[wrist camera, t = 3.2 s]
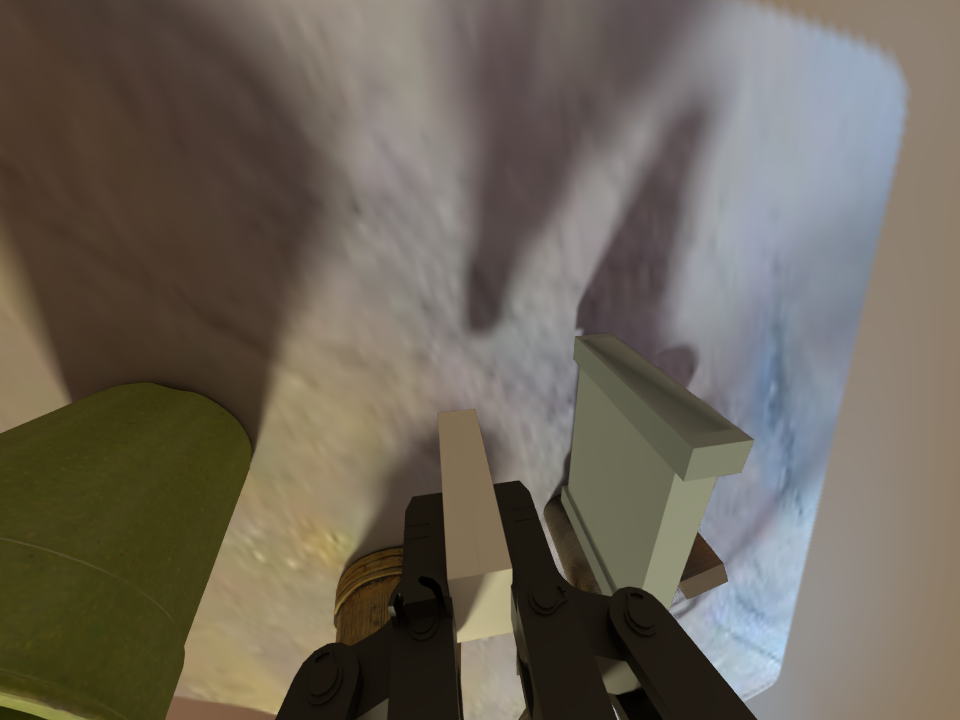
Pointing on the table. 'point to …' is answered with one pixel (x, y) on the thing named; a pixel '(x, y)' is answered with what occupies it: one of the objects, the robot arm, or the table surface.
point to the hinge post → (569, 548)
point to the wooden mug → (368, 596)
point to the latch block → (701, 570)
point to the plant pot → (110, 548)
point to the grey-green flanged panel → (641, 467)
